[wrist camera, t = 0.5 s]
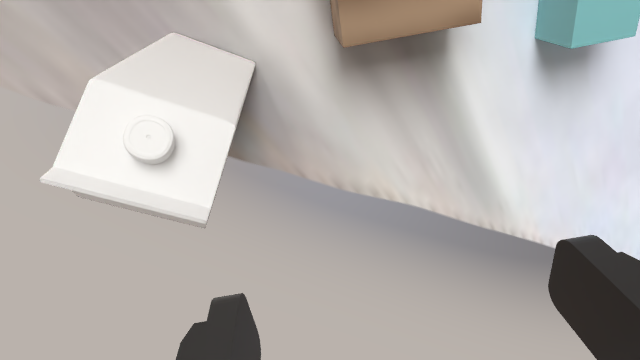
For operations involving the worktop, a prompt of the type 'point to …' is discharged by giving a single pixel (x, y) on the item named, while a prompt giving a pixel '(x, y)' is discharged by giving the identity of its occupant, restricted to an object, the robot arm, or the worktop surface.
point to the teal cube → (586, 21)
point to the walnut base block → (398, 18)
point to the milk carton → (156, 130)
